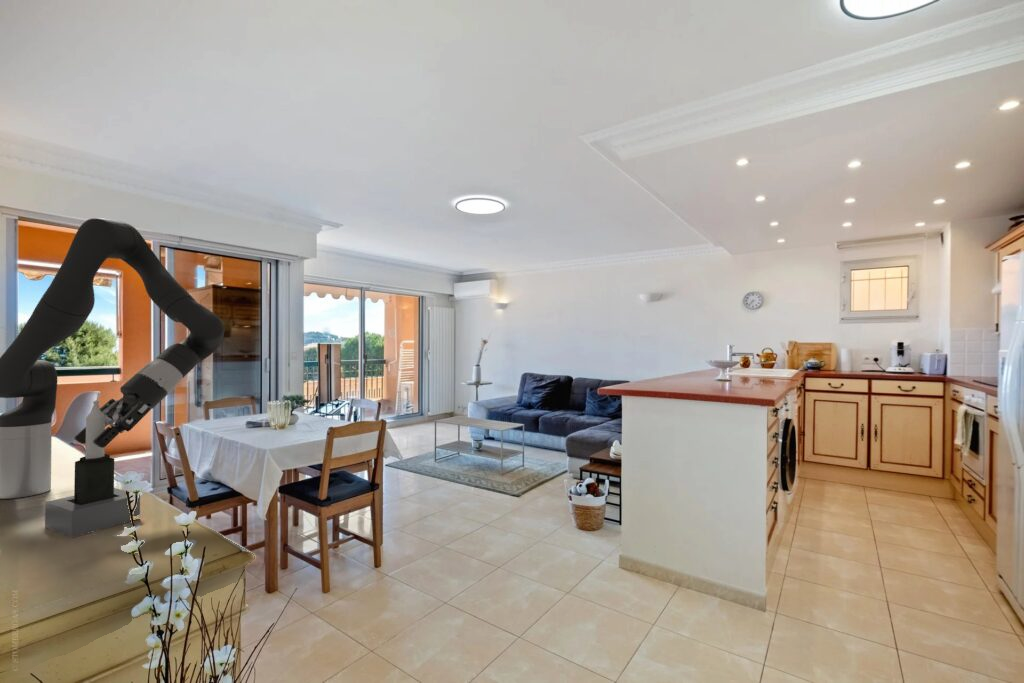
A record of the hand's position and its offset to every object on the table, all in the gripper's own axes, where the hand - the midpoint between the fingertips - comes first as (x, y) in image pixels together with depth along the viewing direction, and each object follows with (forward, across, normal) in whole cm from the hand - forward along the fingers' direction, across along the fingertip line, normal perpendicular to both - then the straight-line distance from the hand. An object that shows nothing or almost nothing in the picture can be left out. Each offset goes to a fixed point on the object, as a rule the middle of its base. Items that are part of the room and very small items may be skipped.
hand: (87, 443), depth 95 cm
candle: (+11, 0, +12) cm, 17 cm away
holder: (+11, 0, +12) cm, 16 cm away
